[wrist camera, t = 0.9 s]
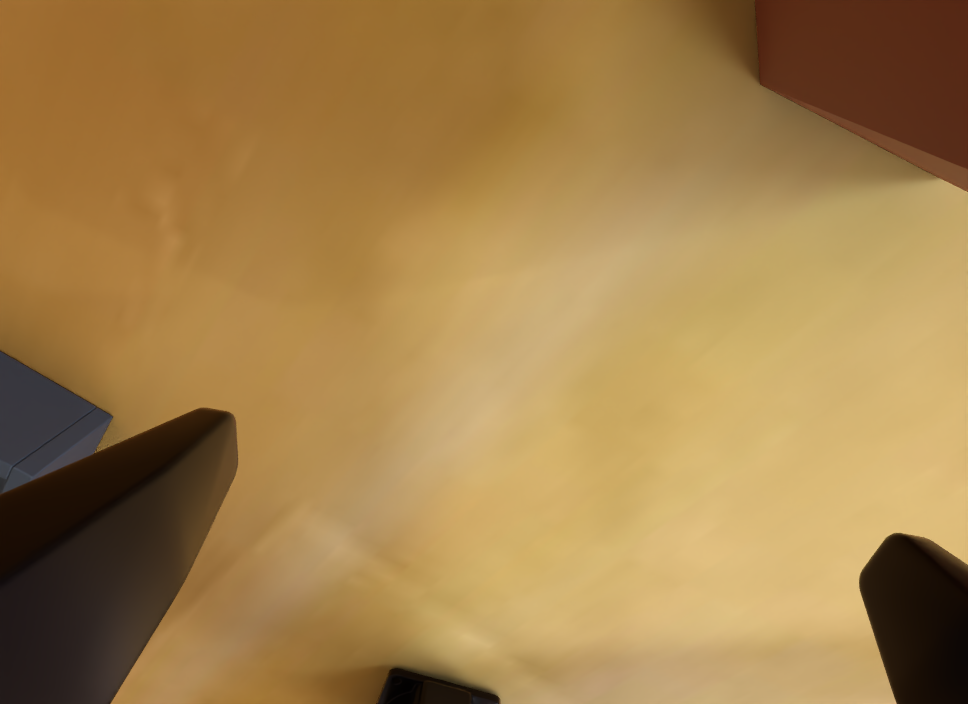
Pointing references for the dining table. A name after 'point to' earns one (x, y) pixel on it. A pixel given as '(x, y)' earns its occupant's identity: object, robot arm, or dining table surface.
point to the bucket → (876, 72)
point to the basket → (42, 425)
